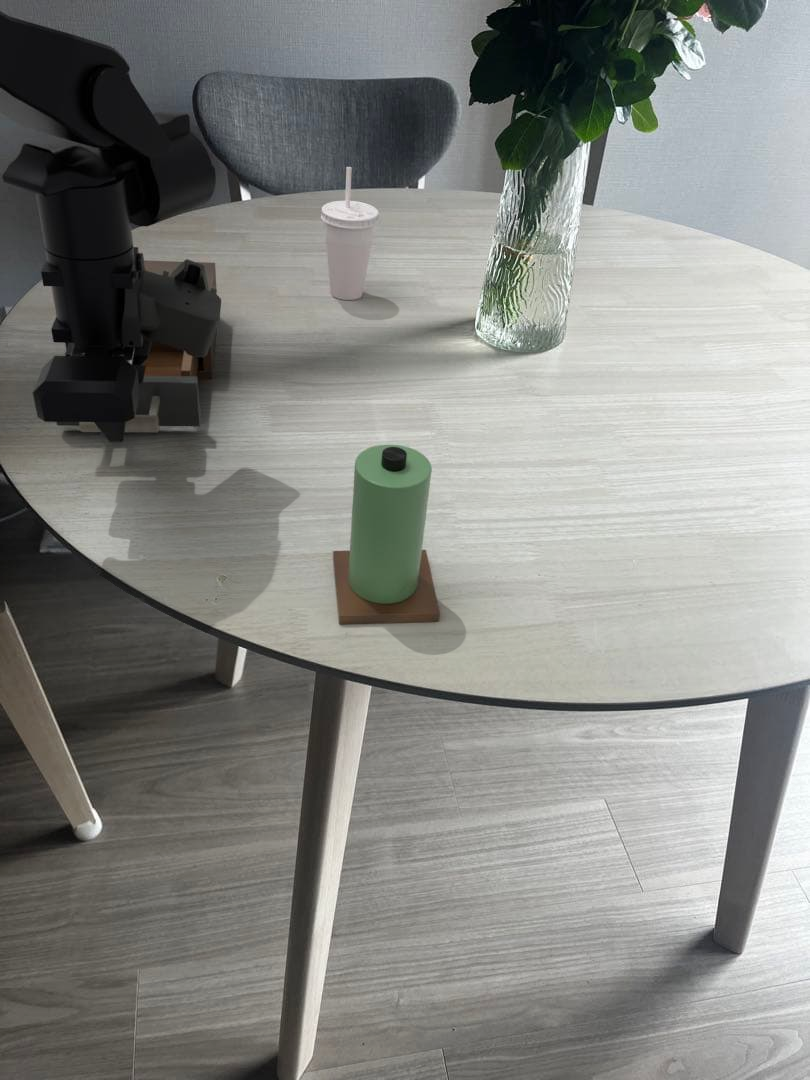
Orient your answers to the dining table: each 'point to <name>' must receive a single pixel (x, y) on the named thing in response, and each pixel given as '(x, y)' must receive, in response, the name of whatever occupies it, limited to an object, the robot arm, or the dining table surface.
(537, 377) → the dining table surface
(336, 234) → the smoothie
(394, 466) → the green bottle
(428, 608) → the plate
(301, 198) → the dining table surface
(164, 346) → the drawer
